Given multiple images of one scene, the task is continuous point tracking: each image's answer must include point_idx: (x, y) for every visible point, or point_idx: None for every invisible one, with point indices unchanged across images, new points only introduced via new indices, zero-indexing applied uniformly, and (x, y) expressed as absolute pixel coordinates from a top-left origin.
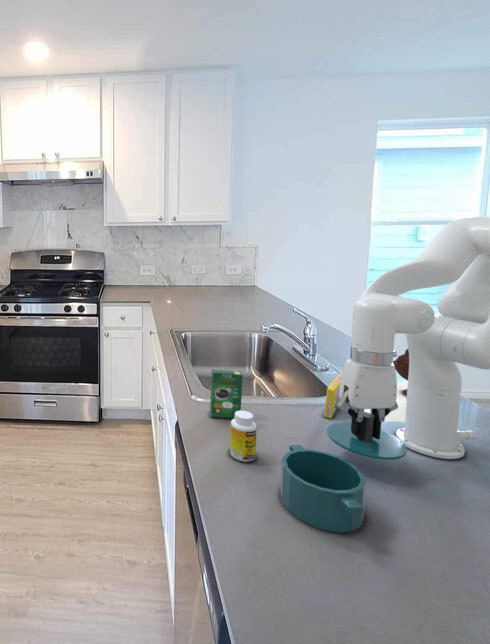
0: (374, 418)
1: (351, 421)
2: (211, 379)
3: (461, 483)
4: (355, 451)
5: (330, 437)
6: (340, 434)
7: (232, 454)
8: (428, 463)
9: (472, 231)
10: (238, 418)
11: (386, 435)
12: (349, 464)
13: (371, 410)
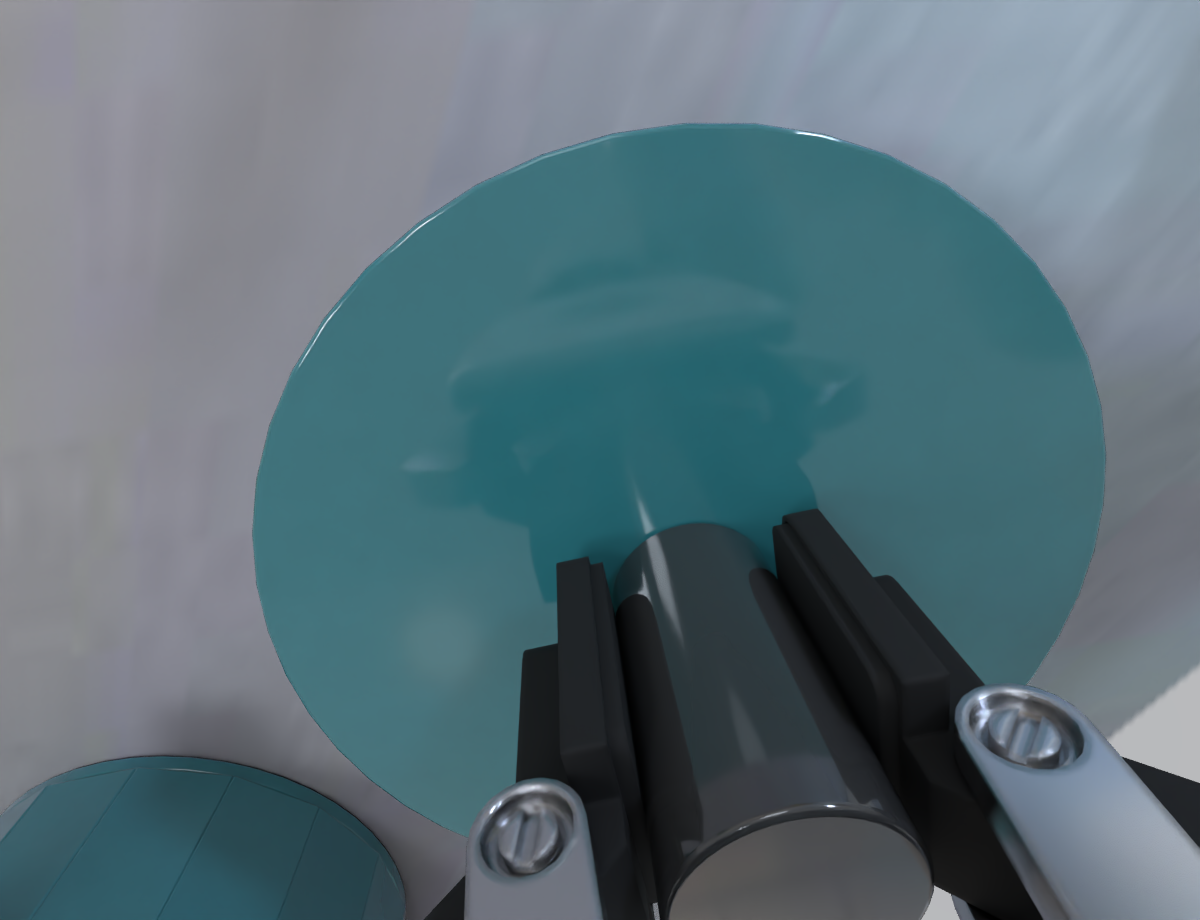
0: (919, 825)
1: (518, 751)
2: None
3: (1177, 596)
4: (461, 834)
5: (271, 635)
6: (416, 559)
7: None
8: (1189, 382)
9: None
10: None
11: (1009, 478)
12: None
13: (1009, 854)
